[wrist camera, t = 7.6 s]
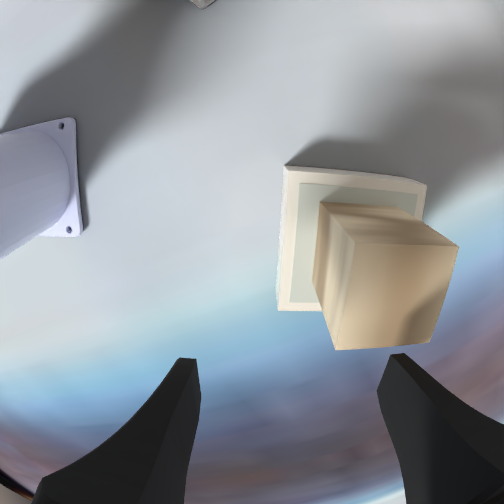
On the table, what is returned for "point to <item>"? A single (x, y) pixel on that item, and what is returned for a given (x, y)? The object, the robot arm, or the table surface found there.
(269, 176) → the table surface
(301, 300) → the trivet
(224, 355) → the table surface
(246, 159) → the table surface
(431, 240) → the block
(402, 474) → the robot arm
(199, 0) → the coffee box
